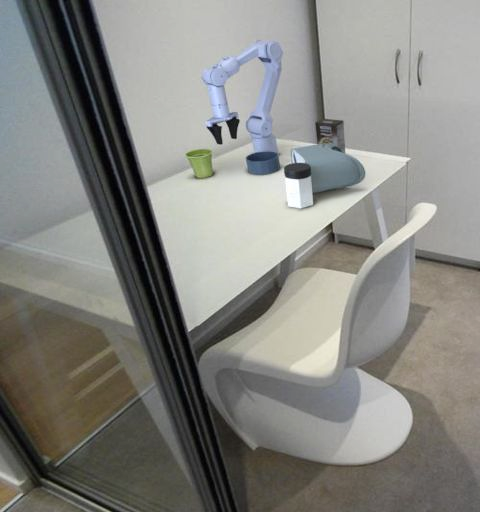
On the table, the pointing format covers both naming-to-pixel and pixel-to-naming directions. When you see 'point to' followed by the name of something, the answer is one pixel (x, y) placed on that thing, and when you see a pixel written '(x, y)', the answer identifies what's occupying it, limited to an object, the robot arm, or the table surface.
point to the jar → (298, 185)
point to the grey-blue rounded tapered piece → (329, 166)
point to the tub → (263, 162)
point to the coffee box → (331, 132)
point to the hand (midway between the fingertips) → (227, 141)
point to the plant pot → (200, 162)
